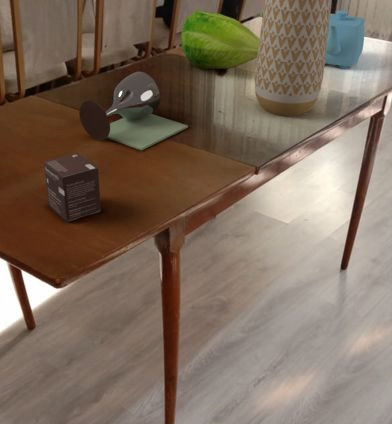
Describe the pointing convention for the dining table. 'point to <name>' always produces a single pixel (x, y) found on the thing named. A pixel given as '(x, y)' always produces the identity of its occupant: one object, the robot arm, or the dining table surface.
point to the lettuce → (217, 41)
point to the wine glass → (122, 104)
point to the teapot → (344, 39)
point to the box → (72, 186)
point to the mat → (143, 131)
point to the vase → (291, 55)
